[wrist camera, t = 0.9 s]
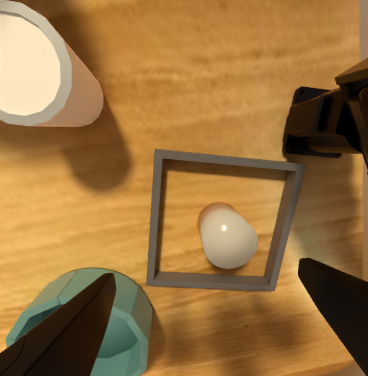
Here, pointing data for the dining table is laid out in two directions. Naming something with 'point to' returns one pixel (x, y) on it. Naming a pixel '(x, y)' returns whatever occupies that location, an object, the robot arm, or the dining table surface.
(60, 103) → the white cup
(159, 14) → the dining table surface
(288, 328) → the dining table surface
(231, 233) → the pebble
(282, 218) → the gray square frame
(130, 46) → the dining table surface
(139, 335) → the bowl
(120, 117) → the dining table surface
